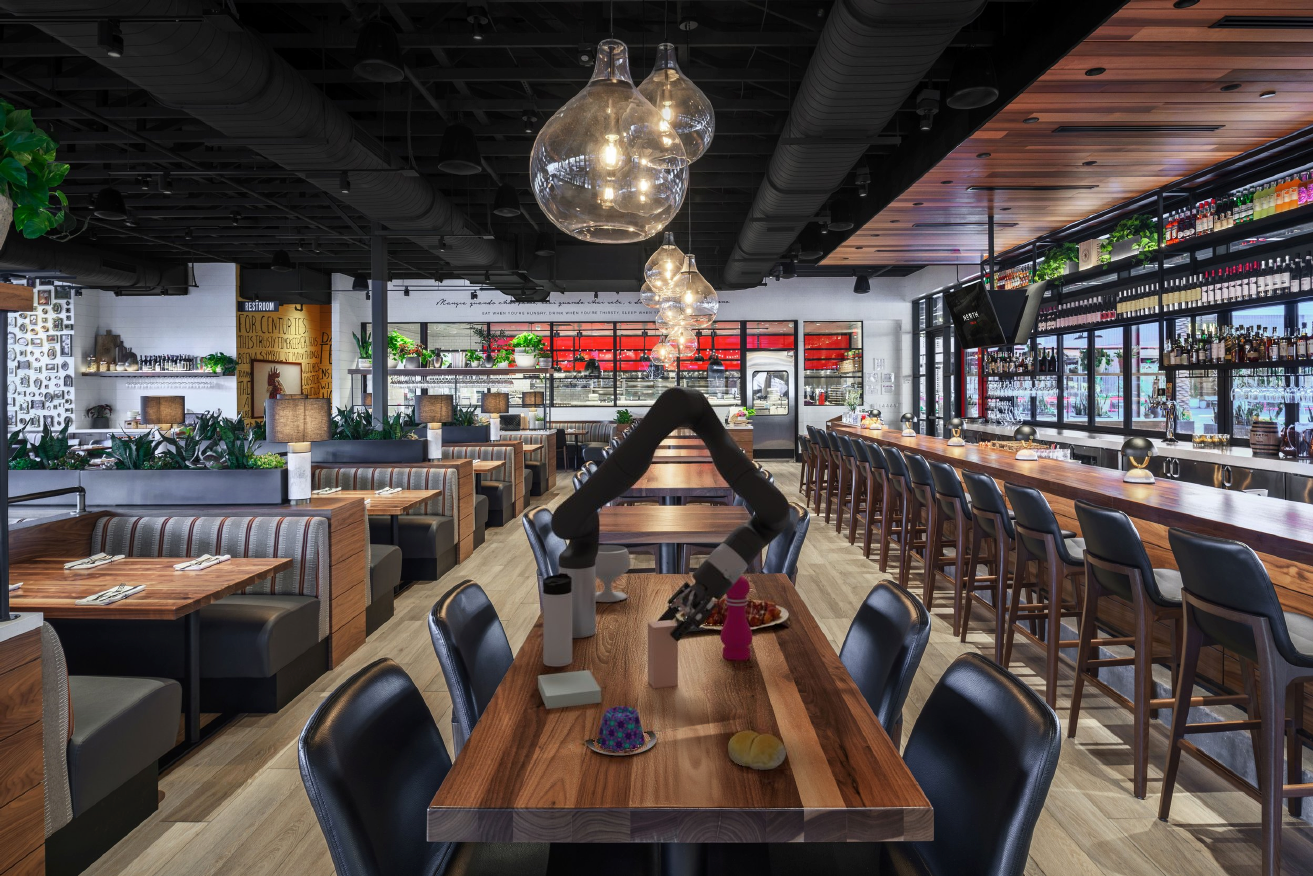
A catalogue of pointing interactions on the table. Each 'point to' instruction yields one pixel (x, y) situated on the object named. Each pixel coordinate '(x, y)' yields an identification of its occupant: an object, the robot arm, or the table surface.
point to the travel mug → (557, 620)
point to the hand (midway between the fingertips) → (666, 631)
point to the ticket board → (569, 689)
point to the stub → (662, 654)
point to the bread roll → (756, 750)
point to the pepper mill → (737, 623)
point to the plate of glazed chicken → (754, 611)
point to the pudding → (621, 731)
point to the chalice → (611, 570)
